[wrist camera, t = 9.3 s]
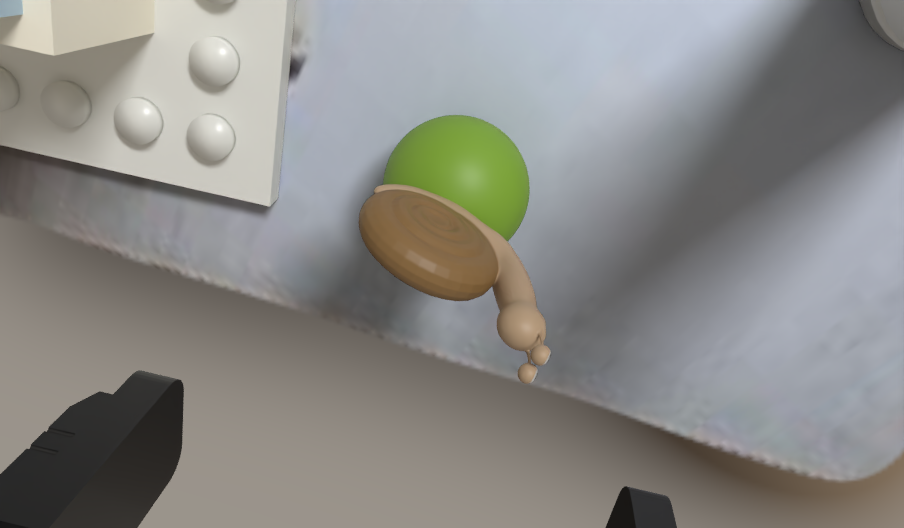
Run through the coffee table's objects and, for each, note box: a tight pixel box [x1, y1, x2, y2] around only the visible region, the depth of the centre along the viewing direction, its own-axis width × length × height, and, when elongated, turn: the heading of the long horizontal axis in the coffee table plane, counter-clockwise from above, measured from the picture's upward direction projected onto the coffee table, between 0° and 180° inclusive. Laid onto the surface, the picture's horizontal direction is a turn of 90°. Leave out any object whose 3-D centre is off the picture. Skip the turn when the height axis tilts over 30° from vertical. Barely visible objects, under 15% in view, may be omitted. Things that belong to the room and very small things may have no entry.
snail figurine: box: [359, 115, 551, 384], centre depth 23 cm, size 5×6×12 cm
